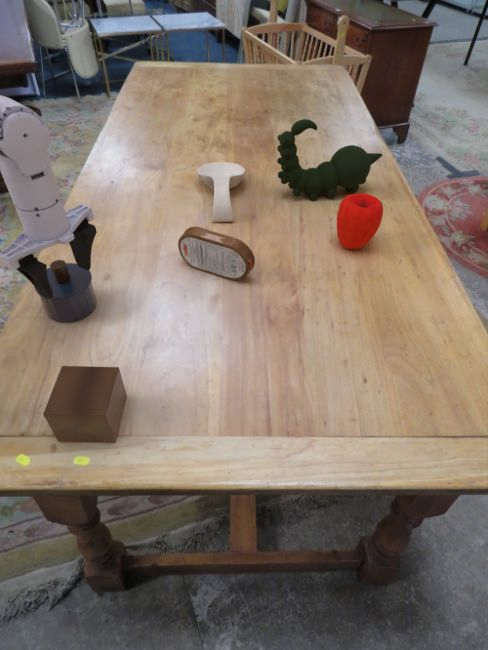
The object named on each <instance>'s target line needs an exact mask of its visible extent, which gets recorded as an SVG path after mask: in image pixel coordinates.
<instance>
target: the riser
mask: <svg viewBox="0 0 488 650" xmlns="http://www.w3.org/2000/svg"><path fill="white" fill-rule="evenodd" d="M122 377H123V376H122V373H121V370H120V367H119V366H85V365H83V366H82V365H81V366H78V365H62V366H61V368H60V370H59V373H58V375H57V377H56V380H55V383H54V386H53V387H52V390H51V393H50V396H49V398H48V401H47V402H46V403H47V404H46V405H45V408H44V410H43V413H42V415H43V416H44V419H45V420H46V422H47V424H48V426H49V428H50V429H51V432H52V433H53V435H54V438H55V439H56V441H57V442H58V443H59V442H61V443H62V442H63V443H105V444H106V443H107V444H108V443H109V444H110V443H111V444H113V443H114V444H115V443H117V438H118V434H119V430H120V426H121V421H122V417H123V414H124V409H125V405H126V401H127V397H128V395H127V391H126V388H125V385H124V381H123V378H122Z"/></svg>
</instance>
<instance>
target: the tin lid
mask: <svg viewBox="0 0 488 650" xmlns="http://www.w3.org/2000/svg"><path fill="white" fill-rule="evenodd" d="M47 277H48V281H49V284H50V286H51V289H52V291H53V297H52V298H50V299H51V300H61V299H67V298H71V297H74V296H76V295H78V294H80V293H82V292H83V291H85V290H86V289H87V288H88V287H89V285H90V283H91V282H92V280H93V275H92V273H91V271H90V269H89V270H85V269H83V268H81V267H78V265H77V263H76V262H66V261H65V260H62V259H57V260H54V261H52V262H50V264H49V267H48V268H47ZM33 288H34V290H35V292H36V293H37V294H38V296H39V295H40V293H39V292H38V290H37V289H36V288H35V286H34V285H33ZM40 296H42V295H40ZM40 296H39V297H40ZM42 297H44V296H42ZM44 298H47V297H44ZM47 299H49V298H47Z"/></svg>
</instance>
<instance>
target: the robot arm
mask: <svg viewBox="0 0 488 650" xmlns="http://www.w3.org/2000/svg"><path fill="white" fill-rule="evenodd" d="M50 141H51V130H50V127H49V126H46V125H45V123H44V120H43V119H42V117H41V116H40V115H39V114H38V113H37V112H35V110H34V109H31V108H30V107H28V106H26V105H24V104H22V103H20V102H18V101H16V100H14V99H12V98H10V97H8V96H5V95H1V94H0V173H1V176H2V178H3V181H4V184H5V185H6V188H7V190H8V193H9V195H10V198H11V201H12V203H13V205H14V208H15V211H16V213H17V216H18V218H19V221H20V223H21V225H22V228H23V231H22V232H20V234H19V235H18V236H17V237H16V238H15V239H14V240H13V241H11V243H10V244H9V245H8V246H7V247H5V249H4V250H2V251H1V252H0V260H1V262H2V265H3V266H4V267H6V268H8V269H10V270H13V271H17V272H19V273H20V274H22V276H24V277H25V278H26V279H27V280H28V281H29V282H30V283H31V284H32V285H33V287H34V286H35V287H34V289H35V288H36V289H37V290H38V292H39V293H40V295H42V296H44V297H47V298H49V299H50V298H52V297H53V291H52V289H51V286H50V284H49V281H48V277H47V269H48V268H47V266H48V265H47V264H46V263H44V262H43V261H39V259H38V257H35V254H36V253H37V252H40V251H43V250H45V249H48V248H51V247H53V246H56V245H58V244H60V245H62V246H63V245H64V246H65V245H68V244H69V247H70V249H71V252H72V255H73V258H74V260H75V264H77V265H78V267H81V268H83V269H85V270H89V271H90V270H91V268H92V267H91V266H92V249H93V244H94V240H95V238H96V235H97V232H98V231H97V228H96V226H95V225H94V224H93V223H89V222H91V221H92V220H94V219H95V217H94V214H93V210H92V207H91V206H89V205H86V204H83V203H80V204H78V205H77V206H74V207H72V208H69V209H65V206H64V203H63V200H62V197H61V193H60V190H59V186H58V184H57V181H56V177H55V174H54V171H53V167H52V165H51V161H50V159H49V156H48V149H49V146H50Z"/></svg>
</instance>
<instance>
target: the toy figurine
mask: <svg viewBox="0 0 488 650" xmlns="http://www.w3.org/2000/svg"><path fill="white" fill-rule="evenodd" d="M309 129H312V130H314V131H317V130H318V125H317V124H316V123H315V122H314V121H312V120H311V119H307V118H306V119H305V118H303V119H299V120H297V121H296V122H294V123H293V124H292V125H291V128H290V130H285V131H283V132H282V133H281V134H278V135H277V140H278V141H279V145H277V148H276V149H277V152H279V155H280V156H279V157H278V158H277V160H276V161H277V164H278V165H280V171H278V173H277V178H278V179H280V183H281V184H282V185H287V186H288V188H289V190H292V192H291V193H292V195H293V197H296V198H298V197H300V196H301V195H302V192H303V193H304V194H306V195H308V197H309V199H310V200H312V201H315V200H317V199H318V197H319V194H320V193H321V192H325V194H326V195H327V197H328V198H334V197H335V196H336V195H337V193H338V190H337V189H338V188H339V187H341V188H344V190H345V191H346V192H347V193H349V192H350V193H349V194H356V193H357V192H358V191H359V189H360V186H361V185H364V184H365V183H366V182H367V178H368V176H369V174H370V171H371V166H372V165H373V164H374V163H375V162H377V161H378V160H380V159H381V158H382V157H383V153H379V152H374V153H373V152H367V151H366V149H364V148H363V147H360V146H358V145H354V144H350V145H346V146H342V147H341V148H339V149H338V150H337V151H335V152H334V153H333V155H332V156H331V158H330V160H328V161H322V162H321V163H320V164H318V165H317V166H316V167H309V168H307V169H305V168H303V167H302V165H301V164H300V159H299V156H298V154H297V153H298V148H297V147H298V146H297V144H296V136H300V135H301V134H303V132H305V131H306V130H309Z"/></svg>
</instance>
